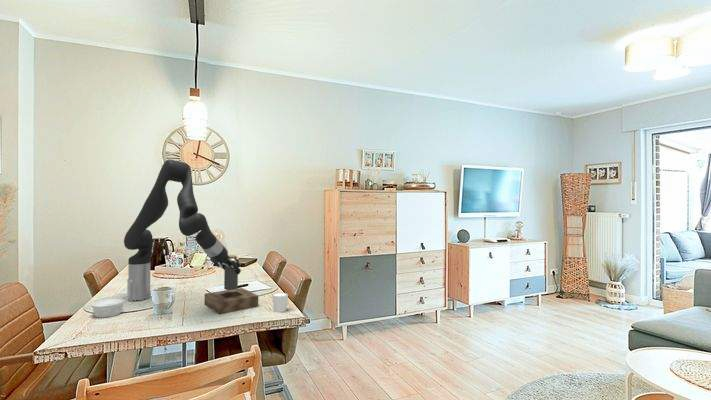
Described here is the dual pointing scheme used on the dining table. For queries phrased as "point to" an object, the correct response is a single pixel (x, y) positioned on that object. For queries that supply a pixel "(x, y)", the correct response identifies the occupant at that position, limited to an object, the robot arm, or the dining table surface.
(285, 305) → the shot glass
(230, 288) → the bottle
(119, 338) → the dining table surface
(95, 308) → the ramekin
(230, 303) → the holder block
